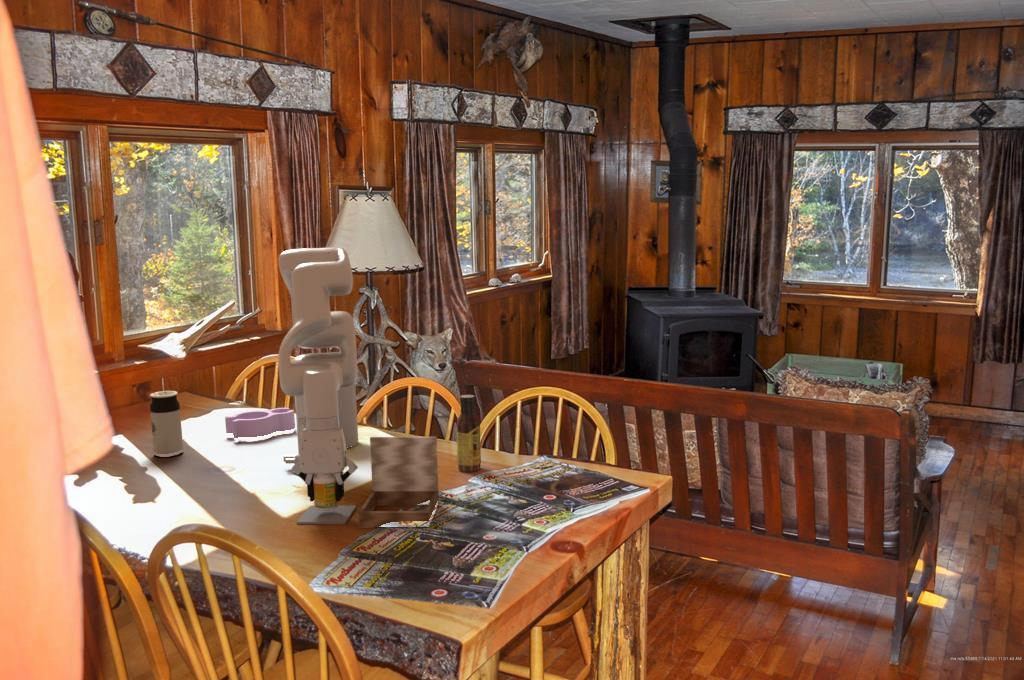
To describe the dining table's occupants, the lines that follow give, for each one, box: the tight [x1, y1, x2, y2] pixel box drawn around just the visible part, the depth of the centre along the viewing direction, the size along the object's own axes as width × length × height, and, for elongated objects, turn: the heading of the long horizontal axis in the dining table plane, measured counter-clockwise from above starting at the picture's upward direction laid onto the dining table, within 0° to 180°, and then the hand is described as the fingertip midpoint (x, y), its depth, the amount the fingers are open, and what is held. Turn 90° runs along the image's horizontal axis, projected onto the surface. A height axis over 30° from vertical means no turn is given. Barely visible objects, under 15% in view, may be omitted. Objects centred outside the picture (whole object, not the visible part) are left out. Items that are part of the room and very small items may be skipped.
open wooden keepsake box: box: [358, 436, 440, 529], centre depth 214 cm, size 16×16×16 cm
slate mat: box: [296, 505, 357, 525], centre depth 216 cm, size 11×11×1 cm
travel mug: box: [149, 390, 184, 454], centre depth 270 cm, size 8×8×18 cm
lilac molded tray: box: [224, 407, 296, 438], centre depth 291 cm, size 20×12×7 cm, turn 126°
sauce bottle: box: [456, 394, 482, 473], centre depth 249 cm, size 6×6×20 cm
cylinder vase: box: [337, 383, 359, 449], centre depth 276 cm, size 12×12×25 cm
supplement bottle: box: [313, 474, 339, 511], centre depth 216 cm, size 5×5×10 cm
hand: (326, 498), depth 216 cm, fingers closed on supplement bottle, 5 cm apart
